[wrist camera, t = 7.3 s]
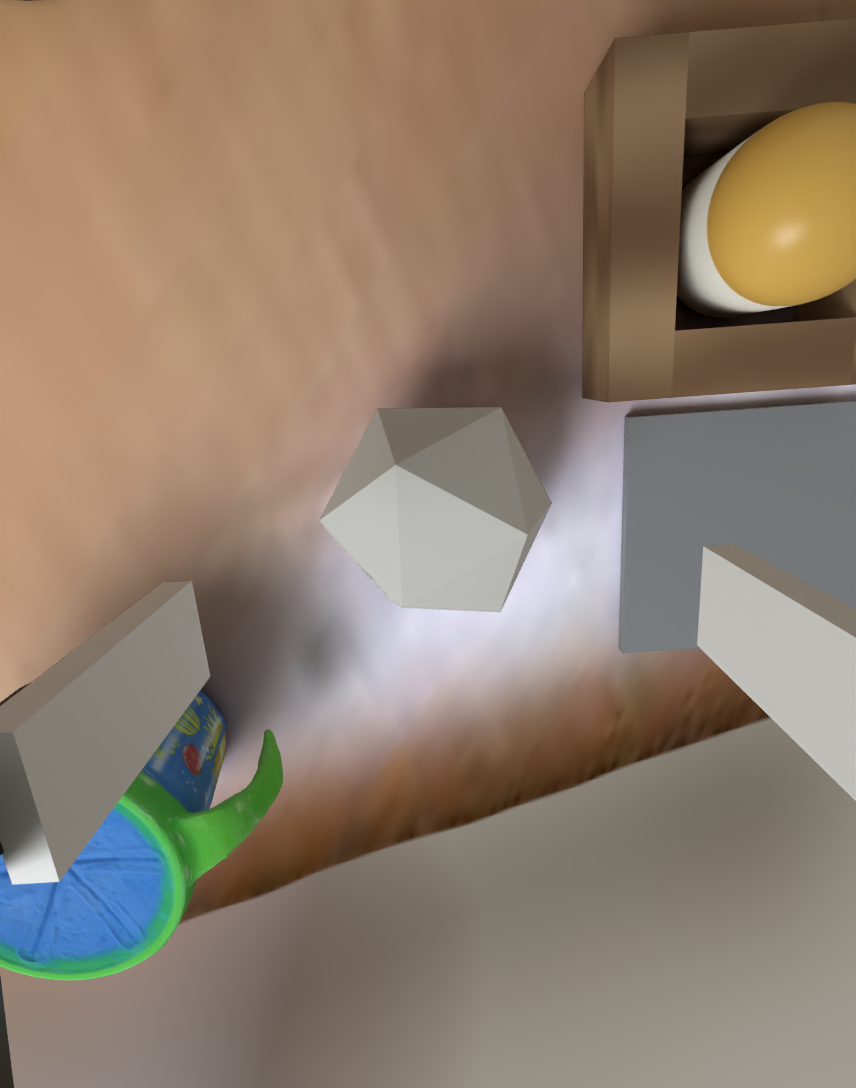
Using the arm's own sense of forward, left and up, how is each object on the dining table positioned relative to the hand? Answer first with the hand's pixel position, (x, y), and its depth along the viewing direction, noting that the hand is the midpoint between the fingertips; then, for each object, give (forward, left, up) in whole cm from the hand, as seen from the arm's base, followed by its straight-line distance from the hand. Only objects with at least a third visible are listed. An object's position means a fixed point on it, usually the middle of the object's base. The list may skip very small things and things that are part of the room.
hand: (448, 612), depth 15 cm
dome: (-10, +13, -13) cm, 21 cm away
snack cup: (+12, -16, -14) cm, 24 cm away
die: (0, 0, -14) cm, 14 cm away
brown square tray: (-10, +13, -14) cm, 22 cm away
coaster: (+3, +15, -14) cm, 21 cm away
